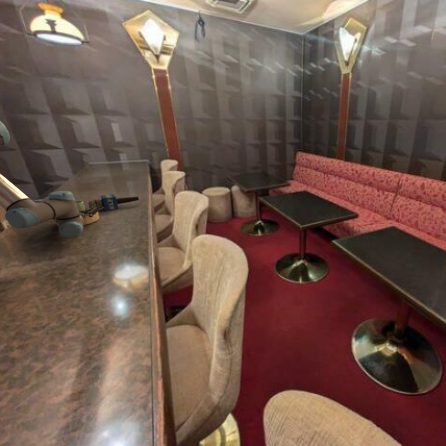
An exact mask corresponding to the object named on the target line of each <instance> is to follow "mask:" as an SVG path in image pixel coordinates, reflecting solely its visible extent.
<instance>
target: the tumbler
mask: <svg viewBox="0 0 446 446" xmlns="http://www.w3.org/2000/svg"><path fill="white" fill-rule="evenodd" d="M75 200H76V199H75ZM76 205H77V208H78V211H81V210H86V209H87V208H86V206H85V203H84V200H80V199H77V200H76ZM86 217H88V216H86Z"/></svg>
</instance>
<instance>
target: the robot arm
mask: <svg viewBox="0 0 446 446" xmlns="http://www.w3.org/2000/svg"><path fill="white" fill-rule="evenodd" d="M10 140H11V136H10V132H9V130H8V128H7V126H5V124H4V123H3V122H2V121H1V120H0V146H5V145H8V144H9V143H10ZM0 207H1V208H2V209H4V210H5V211H6V212H5V214H4V218H5V220H6V221H7V222H8V224H9V225H10V226H11V227H12V228H16V229H19V230H22V229H27V228H31V227H35V226H38V225H40V224H42V223H45V222H49V221H51V220H53V221H55V223H56V222H58V225H59V226H58V225H57V226H58V233H59V235H60V236H61V237H63V238H65V239H76V238H78V237H80V236H81V235H82V234H83V232H84V225H83V224H84V218H85V217H86V216H89V217H93V215H95V214H96V213H99V212H100V209H99V208H98V207H95V208H94V206H92V205H91V204H89V203H88V208H85V209H86V210H81V211H78V208H77V205H76V199H75V196H74V194H73V192H72V191H69V190H59V191H52V192H49V193H48V199H46V200H42V201H39V202H35V201H34V200H33V199H31V198H30V197H28V195H26V194H25V193H24V192H23V191H22V190H20V189H19V188H18V187H17V186H16V185H15V184H13V182H11V181H10V180H8V178H6V177H5V176H4V175H2V174H1V173H0Z"/></svg>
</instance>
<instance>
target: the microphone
mask: <svg viewBox="0 0 446 446" xmlns="http://www.w3.org/2000/svg"><path fill="white" fill-rule="evenodd" d="M137 201H140V197H139V196H128V197H116V195H115V194H114V193H109V194H103V195H100V199H91V200H89V201H88V205H89V204H91V205H92V206H94V208H95V207H98V208H99V210H100V209H104V211H105V212H107V211H113V210H120V209H119V205H123V204H127V203H132V202H137Z"/></svg>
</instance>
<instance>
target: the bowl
mask: <svg viewBox="0 0 446 446" xmlns="http://www.w3.org/2000/svg"><path fill="white" fill-rule="evenodd" d="M100 218H101V217H100V213H99V212H98V213H96V214H95V215H93V217H89V216H88V217H85V218H84V224H83V226H86V225H90V224H93V223H94V222H97V221H99V219H100ZM55 224H56V225H57V227H59V225H58V222H55Z"/></svg>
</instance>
